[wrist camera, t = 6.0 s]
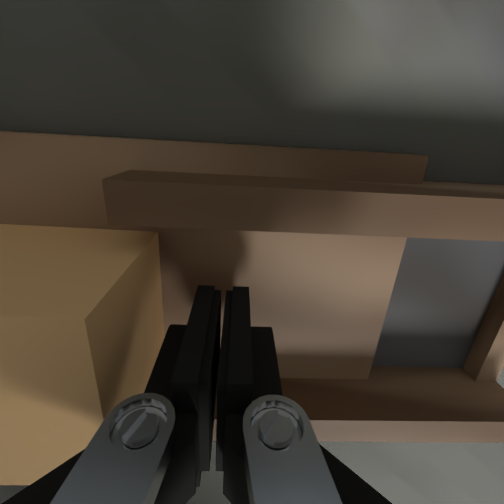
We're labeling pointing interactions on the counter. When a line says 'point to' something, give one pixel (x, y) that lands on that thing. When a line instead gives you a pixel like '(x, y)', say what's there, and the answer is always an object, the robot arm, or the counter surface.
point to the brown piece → (307, 266)
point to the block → (71, 337)
